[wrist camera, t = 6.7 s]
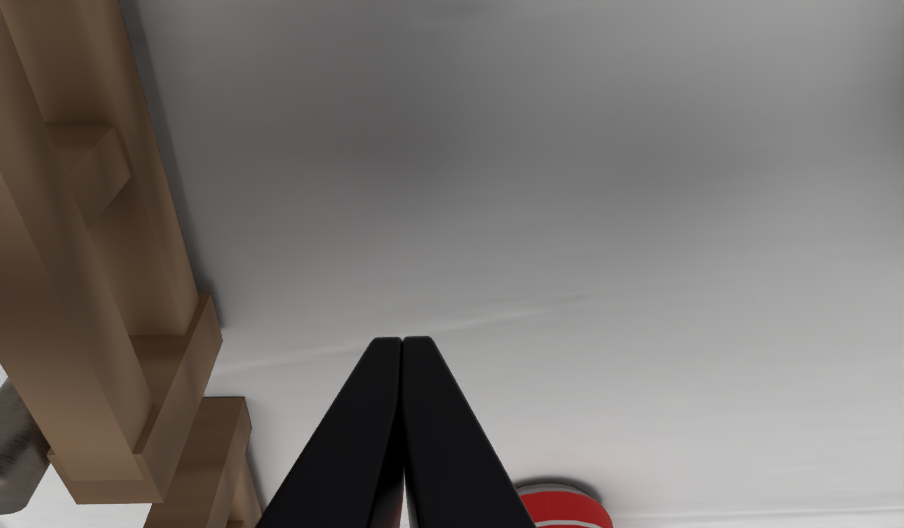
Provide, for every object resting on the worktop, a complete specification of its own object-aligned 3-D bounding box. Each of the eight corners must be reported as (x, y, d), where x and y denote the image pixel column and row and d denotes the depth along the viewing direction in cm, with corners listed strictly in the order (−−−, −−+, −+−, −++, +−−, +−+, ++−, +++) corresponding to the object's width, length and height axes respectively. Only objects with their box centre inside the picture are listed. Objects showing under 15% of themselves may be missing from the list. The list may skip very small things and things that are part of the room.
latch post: (145, 257, 17) (26, 451, 12) (170, 331, 19) (77, 526, 13) (37, 256, 16) (-133, 452, 11) (73, 331, 18) (-60, 529, 13)
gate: (-81, -343, 9) (-549, -501, 5) (54, -330, 9) (-273, -469, 5) (157, 340, 18) (76, 504, 14) (222, 340, 18) (163, 502, 14)
